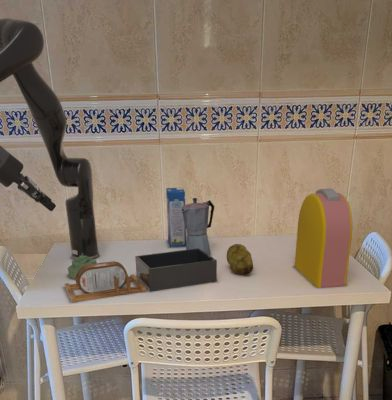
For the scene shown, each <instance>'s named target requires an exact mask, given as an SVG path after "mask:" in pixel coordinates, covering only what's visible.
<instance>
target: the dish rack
mask: <svg viewBox="0 0 392 400" xmlns="http://www.w3.org/2000/svg"><path fill="white" fill-rule="evenodd" d="M125 276H126V283H125V286H126V287H124V288H123V287H122V288H120V289H119V285H118V278H116V276H114V286H115V290H108V291H101V292H95V293H81V294H74V291H75V290H81V289H80V288H79V287H78V286H77V284H76V283H72V284H71V283H68V282H67V283H64V284H63V285H64V288H65V290H66V293H67V295H68V296H69V299H70V301H71V303H76V302H82V301H83V302H84V301H88V300H95V299H96V300H97V299H101V298H109V297H115V296H116V297H117V296H123V295H129V294H137V293H145V292H147V288H146V286H145V285H144V284H143V283H142V282H141V281H140V280H139V279H138V278H137V275H135V274H133V273H132V274H130V275H129V274H128V273H127V274H126V275H125ZM131 282H133V283H134V284H135V286H131Z"/></svg>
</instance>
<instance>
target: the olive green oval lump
mask: <svg viewBox="0 0 392 400" xmlns="http://www.w3.org/2000/svg"><path fill="white" fill-rule="evenodd" d="M226 261H227V263H228V265H229V268H230V270H231V271H232V273H234V274H236V275H239V276H248V275H249V274H252V272H253V270H254V263H253V262H254V261H253V258H252V254H251V252H250V251H249V250H248V249H247V247H246V246H245V245H243V244H241V243H235V244H232V245H231V246H229V247H228V248H227V251H226Z"/></svg>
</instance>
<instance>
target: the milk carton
mask: <svg viewBox="0 0 392 400" xmlns="http://www.w3.org/2000/svg"><path fill="white" fill-rule="evenodd" d="M165 191H166V214H167V215H166V216H167V217H166V218H167V238H168V239H167V242H168V245H169V248H183V247H184V248H186V241H187V230H186V228H185V224H184V219H183V214H182V212H181V210H182V208H181V207H182V206H184V205H186V191H185V189H184V187H166V189H165Z"/></svg>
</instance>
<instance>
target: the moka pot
mask: <svg viewBox="0 0 392 400" xmlns="http://www.w3.org/2000/svg"><path fill="white" fill-rule="evenodd" d="M197 201H198V198H197V197H193V198H192V203H191V202H190V203H187V204H186V203H185V205H184V206H182V207H181V208H182V210H181V212H182V214H183V219H184V224H185V228H186V247H185V250H189V249H197V248H199V249H201V250H202V251H204V252H205V253H207V254H208V255H210V256H211V246H210V242H209V236H208V229H210V228H211V227H212V223H213V216H214V213H215V212H214V211H215V205H214V203H213V202H212V201H211V200H207V201H203V202H197ZM209 213H210V215H209Z"/></svg>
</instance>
